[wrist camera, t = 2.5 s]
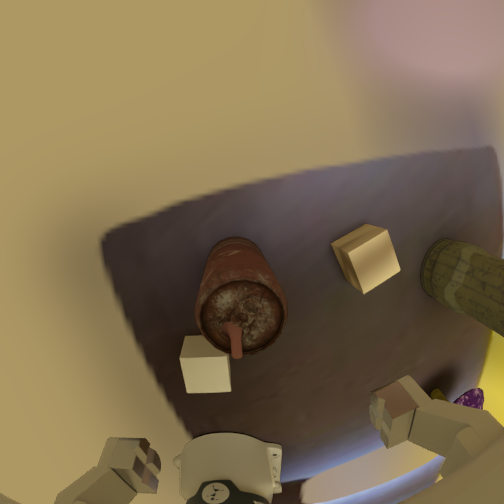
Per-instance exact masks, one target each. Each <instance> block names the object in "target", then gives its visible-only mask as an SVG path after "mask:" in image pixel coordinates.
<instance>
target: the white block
mask: <svg viewBox="0 0 504 504" xmlns="http://www.w3.org/2000/svg"><path fill="white" fill-rule="evenodd" d="M180 363H181V368H182V372H183V377H184V381H185V386H186V390H187V393H214V392H231V378H230V362H229V354H226V353H224V352H222V351H220V350H218V349H216V348H214V347H213V346H212V345H211V344H210V343H209V342H208V341H207V340H206V338H205V337H204V336H203V335H199V336H185V339H184V343H183V346H182V350H181V354H180Z"/></svg>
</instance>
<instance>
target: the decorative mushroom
mask: <svg viewBox="0 0 504 504" xmlns="http://www.w3.org/2000/svg"><path fill="white" fill-rule="evenodd" d="M431 397H432V398H433V399H439V400H443V401H447V402H449V401H448V400H447V399H446V398H445V396H444V395H443V394H442V392H441V391H440V390H439V389H438V388H436V389H434V390H433V391H432V392H431ZM483 402H484V396H483V390H482V389H480V388H476V389H471V390H469V391H467V392H465V393H464V394H463V395H461V396H460V397H459V398H457V399H456V400H455V401H454V402H453V403H455V404H459V405H463V406H468V407H472V408H477V409H482V410H483Z"/></svg>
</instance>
